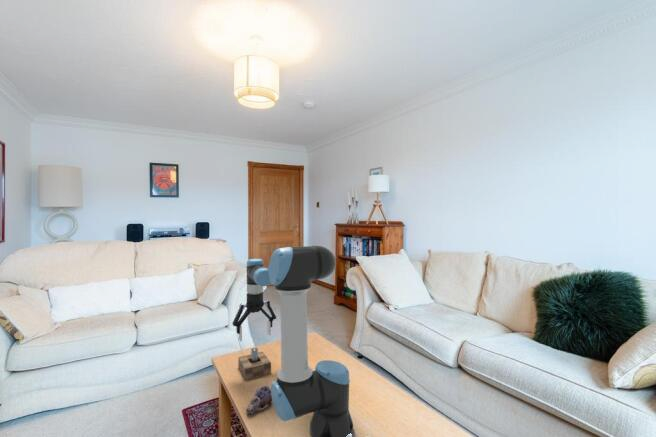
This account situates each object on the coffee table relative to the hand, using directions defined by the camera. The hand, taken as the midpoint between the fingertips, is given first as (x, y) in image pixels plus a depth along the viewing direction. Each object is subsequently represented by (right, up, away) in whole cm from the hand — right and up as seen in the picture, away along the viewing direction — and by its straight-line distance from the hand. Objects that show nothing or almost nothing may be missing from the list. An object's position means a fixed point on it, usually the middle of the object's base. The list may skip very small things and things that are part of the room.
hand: (254, 337), depth 143 cm
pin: (0, -16, +1) cm, 16 cm away
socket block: (0, -16, +1) cm, 16 cm away
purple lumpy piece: (+7, -18, -25) cm, 31 cm away
